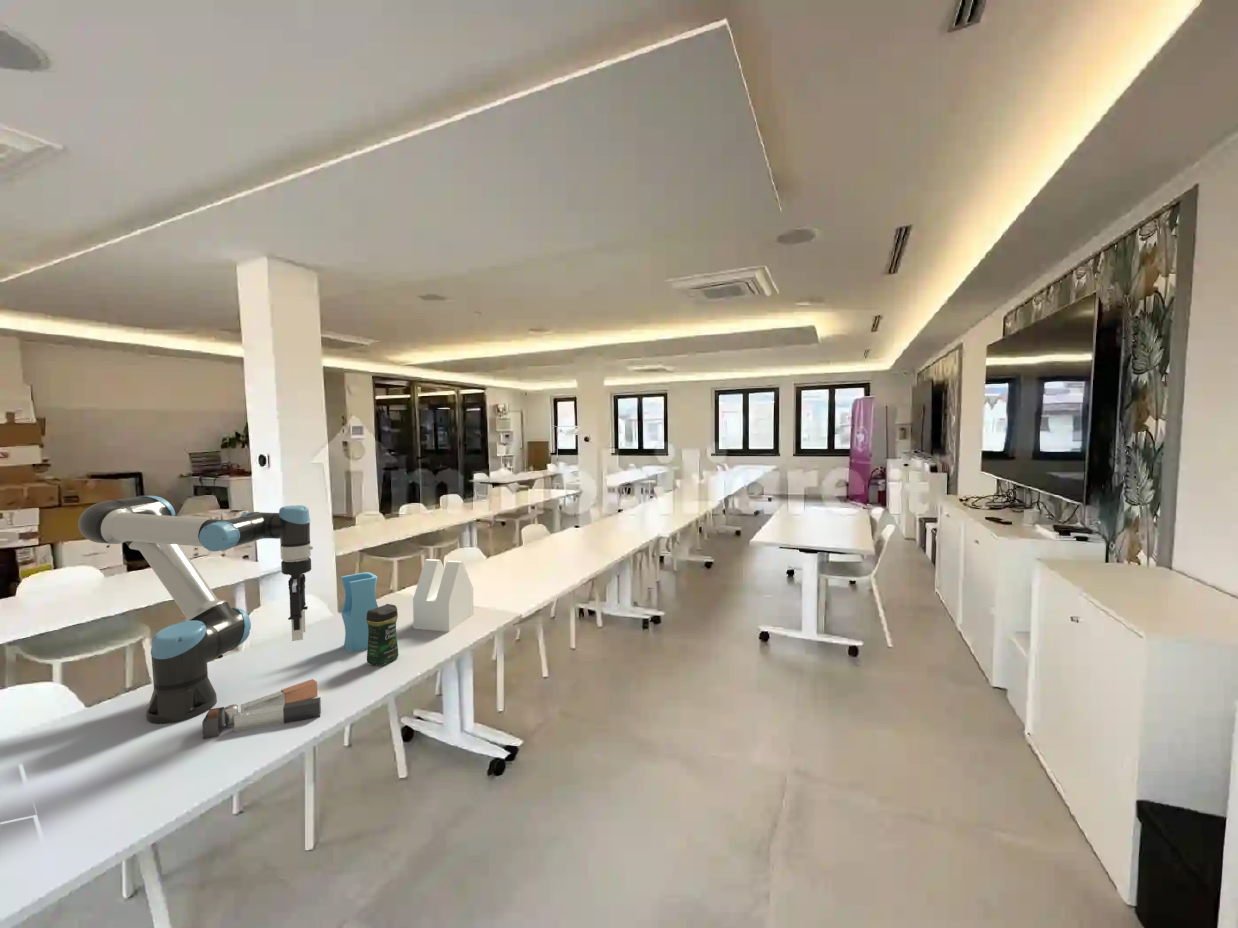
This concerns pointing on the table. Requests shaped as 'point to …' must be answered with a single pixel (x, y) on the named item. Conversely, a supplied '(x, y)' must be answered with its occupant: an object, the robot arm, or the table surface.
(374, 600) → the vase
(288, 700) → the tongs arm
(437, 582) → the white slotted block
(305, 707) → the tongs fixed
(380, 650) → the coffee jar
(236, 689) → the table surface
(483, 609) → the table surface
